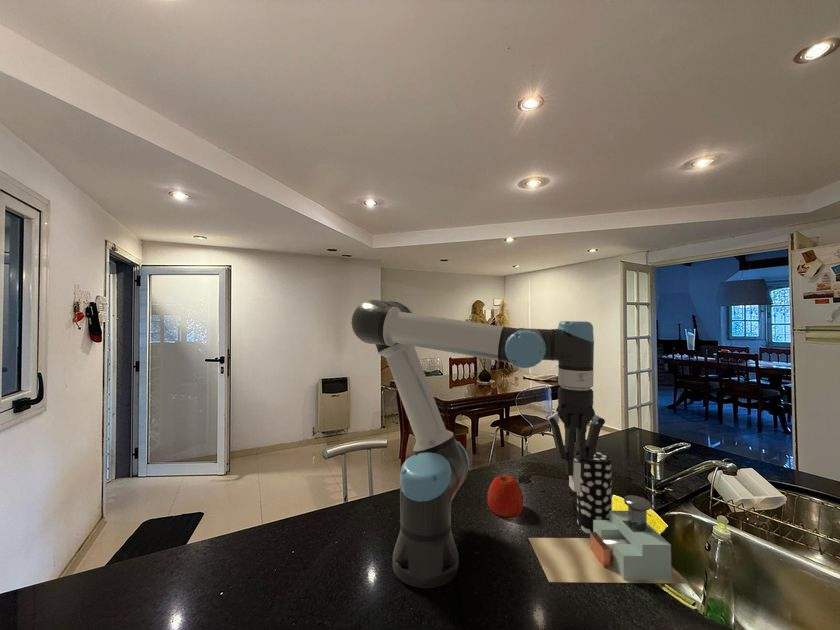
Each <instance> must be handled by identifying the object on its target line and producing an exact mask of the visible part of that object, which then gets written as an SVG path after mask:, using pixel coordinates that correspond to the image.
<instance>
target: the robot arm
mask: <svg viewBox="0 0 840 630" xmlns="http://www.w3.org/2000/svg"><path fill="white" fill-rule="evenodd" d="M350 323H351V328H352V331H353V333H354V335H355V336H356V338H357V339H359V340H360V341H361V342H364V343H366V344H370V345H375V347H376V350H377V353H378V354H379V355H380V356H382V357H384V358H385V359H386V362H387V364H388V367H389V371H390V372H391V375H392V378H393V381H394V384H395V386H396V389H397V391H398V394H399V398H400V400H401V402H402V405H403V408H404V411H405V413H406V416H407V418H408V421H409V425H410V427H411V431H412V433H413V436H414V438H415V441H416V442H415V443H414V444H415V445H414V446H413V452H414V455H412V456H409V457H408V458H406V460H405V461H404V462H403V463H402V465H401V467H400V468H401V469H400V476H399V483H398V484H399V504H400V505H399V510H400V512H399V514H400V516H399V517H400V521H399V522H400V523H399V524H400V525H399V527H400V530H399V532H398V533H399V534H398V536H397V539H396V543H395V546H394V549H393V553H392V570H393V572H394V575H395V576H396V578H398V579H399V581H401V582H403V583H404V584H406V585H407V586H409V587H413V588H417V589H435V588H436V589H437V588H440V587H442V586H445V585H447V584H449V582H451V581H452V580H453V579H454V578H455V577H456V575H457V573H458V571H459V570H458V568H459V563H460V562H459V559H460V558H459V551H458V549H457V545H456V543H455V538H454V536H453V533H452V528H451V525H452V524H451V523H452V522H451V521H452V518H451V517H452V516H451V515H452V512H451V511H452V506H451V505H452V502H453V499H454V497H455V496H456V494H457V492H458V490H459V489H460V487H461V486H462V485H463V483H464V482H465V481H466V478H467V476H468V473H469V469H470V459H469V458H470V457H469V455H468V453H467V450H466V448H465V447H464V446H463V445H462V444H461V443H459V442H458V441H457V440H456V439H457V438H456V437H455V434H454V432H453V431H450V430H448V429H446V427H445V423H444V421H443V418H442V416H441V413H440V410H439V408H438V406H437V402H436V400H435V397H434V395H433V392H432V389H431V387H430V384H429V381H428V379H427V376H426V374H425V373H426V372H425V371H424V368H423V365H422V363H421V360H420V358H419V356H418V352H417V349H416V347H417V348H423V349H424V348H425V349H431V350H435V351H442V352H447V353H453V354H459V355H465V356H469V357H470V356H471V357H475V358H481V359H488V360H492V361H498V362H503V363H508V364H512V365H514V366H516V367H519V368H523V369H529V368H533V367H535V366H537V365H538V364H540V363H541V362H542V361H557V362H558V365H557V367H558V370H557V371H558V372H557V379H558V380H557V383H558V385H559V387H558V388H557V408H556V410H555V412H554V413H553V414H551V415H550V414H549V415H547V416H546V417H545V418H546V421H547V422H548V423H549V425H550V428H551V433H552V437H553V442H554V445H555V449H556V450H555V451H556V453H557V455H558V456H559V457H560V459H561V460H565V469H564V470H565V473H566V474H567V475H568V477H569V479H568V486H569V488H570V489H571V490H572V491H573V492H574V493H577V492H581V476H584V464H586V463H587V461H586V460H592V459H593V457H594V453H595V451H596V448H597V445H598V441H599V437H600V434H601V433H600V432H601V429H602V427H604V425H605V423H606V420H605V419H604V418H603V417H600V416H599V415H597V414H596V412H595V410H594V390H593V389H592V388H593V387H594V363H595V362H594V353H595V340H594V339H595V337H594V336H595V335H594V326H593V324H592V323H591V322H589V321H588V320H586V321H580V320H579V321H578V320H571V321H569V320H567V321H566V320H563V321H562V320H560V321H559V323H558V327H557V328H549V329H548V328H524V327H519V328H516V327H510V326H509V327H508V326H503V325H502V326H501V325H497V324H496V325H495V324H489V323H488V324H487V323H480V322H474V321H466V320H461V319H460V320H459V319H453V318H445V317H439V316H433V315H425V314H418V313H414V312H413V311H412V310H411V308H409V307H408V306H407V305H405V304H403V303H401V302H398V301H395V300H394V301H393V300H388V301H386V300H378V299H371V300H370V299H369V300H366V301H364V302H361V303H360V304H359V305H358V306H357V307H356V308H355V309H354V311H353V313H352V317H351V322H350ZM560 420H561V422H562V423H563V427H564V441H563V437H562V432H561V429H560V426H559V423H560ZM588 425H590V426H589V429H588V428H587V426H588ZM587 430H588V432H587ZM586 434H587V436H586Z"/></svg>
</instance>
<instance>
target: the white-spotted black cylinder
mask: <svg viewBox="0 0 840 630" xmlns="http://www.w3.org/2000/svg"><path fill="white" fill-rule="evenodd" d="M586 461H587V463H586V464H584V476H581V492H576V519H577V520H576V522H577V527H578V528H579V529H580V530H581V531H582V532H584V533H585V534H588V535H590V532H593V520H609V510H613V500H612V496H613V495H612V491H613V489H612V487H613V485H612V484H613V483H612V457H611V455H609V454H608V453H606V452H603V451H599V450H595V453H594V457H593V459H592V460H586Z"/></svg>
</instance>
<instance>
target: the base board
mask: <svg viewBox="0 0 840 630" xmlns="http://www.w3.org/2000/svg"><path fill="white" fill-rule="evenodd" d="M528 541H529V542H530V544H531V547H532V549H533V551H534V553H535V555H536V557H537V559H538V562H539V563H540V566H541V567H542V570H543V571H544V574H545V576H546V578H547V581H548V583H585V584H586V583H590V584H591V583H592V584H593V583H596V584H597V583H598V584H599V583H603V584H604V583H606V584H608V583H610V584H612V583H613V584H617V583H618V584H625V583H626V584H689V582H688V581H687V580H686V579H685V578H684V577H683V576H682V575H681V574H680V573H679V572H678V571H677V570H676V569H675V568H674V567H673V566H672V565H671V580H624V579H623V578H622V577H621V576H620V574H619V573H618V572H617V570H616V569H615V568H614V560H610V568H604V567H603V566H602V564H601V563H600V561H599V560H598V559H597V557H596V556H595V555H594V553H593V552H592V550H591V549H590V537H588V538H587V537H581V538H580V537H528Z"/></svg>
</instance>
